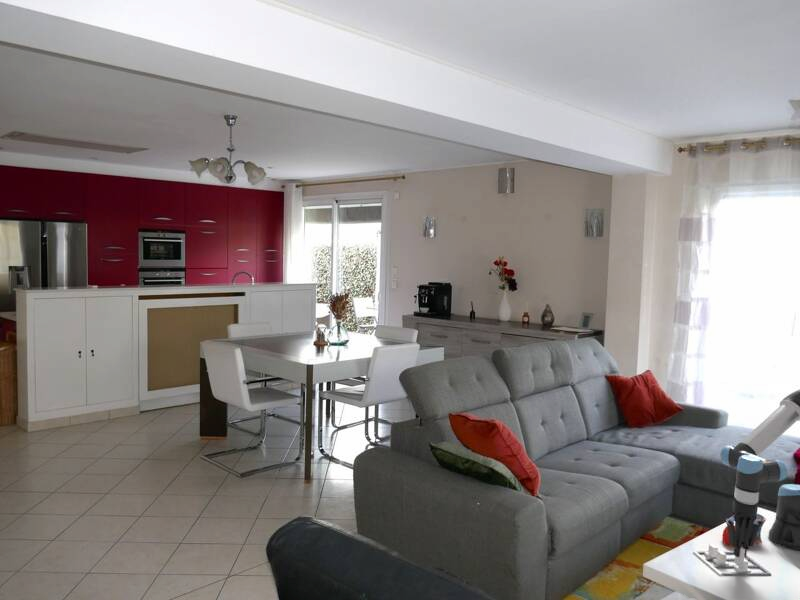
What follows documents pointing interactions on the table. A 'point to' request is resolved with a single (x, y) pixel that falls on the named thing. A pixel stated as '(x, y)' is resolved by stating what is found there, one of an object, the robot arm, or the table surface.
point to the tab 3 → (744, 568)
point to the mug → (758, 537)
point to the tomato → (726, 537)
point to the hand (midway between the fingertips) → (738, 564)
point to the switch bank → (732, 565)
